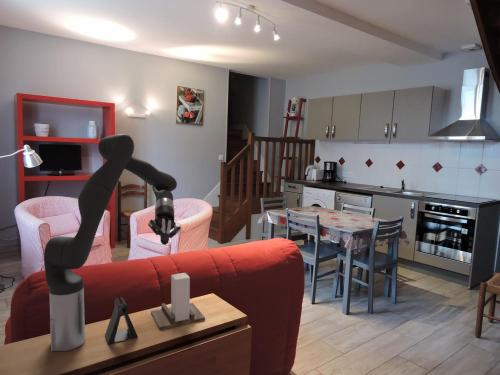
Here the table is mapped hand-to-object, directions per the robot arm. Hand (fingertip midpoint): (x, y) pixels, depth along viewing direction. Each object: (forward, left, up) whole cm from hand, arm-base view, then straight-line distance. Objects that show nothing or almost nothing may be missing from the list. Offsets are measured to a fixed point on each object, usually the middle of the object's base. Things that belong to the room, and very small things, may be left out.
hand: (164, 243), depth 130 cm
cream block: (+3, -11, -24) cm, 27 cm away
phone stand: (-17, -13, -26) cm, 34 cm away
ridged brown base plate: (+3, -8, -25) cm, 27 cm away
